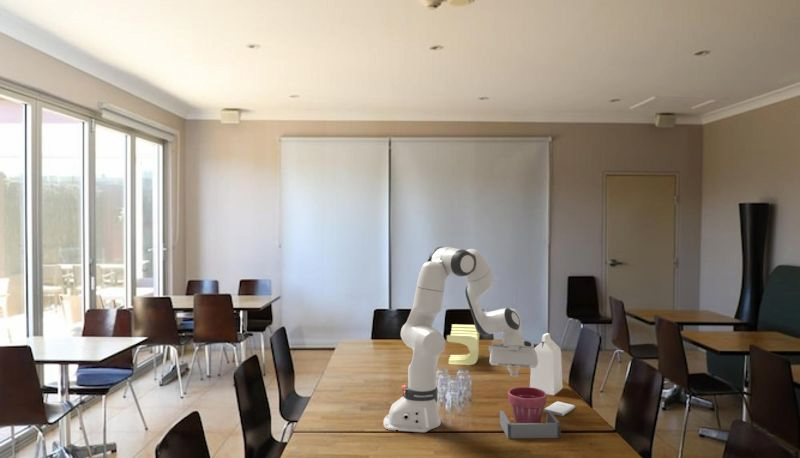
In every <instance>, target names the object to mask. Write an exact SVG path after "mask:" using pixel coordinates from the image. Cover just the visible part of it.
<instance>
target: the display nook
mask: <svg viewBox="0 0 800 458" xmlns="http://www.w3.org/2000/svg"><path fill="white" fill-rule="evenodd" d="M545 415H546V418H545V419H546V421H545V422H540V423H515V422H514V423H513V422H512V423H511V422H510V421H509V419H508V416H507V414H506V413H505V412H504V410H499V425H500V426H501V428H502V430H503V432H504V434H505V436H506V437H507V439H559V438H560V439H561V438H562V424H561V423H560V421H559V420H558V419H557V417H555V414H552V413H551V411H550V410H546V412H545Z"/></svg>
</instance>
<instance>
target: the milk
mask: <svg viewBox="0 0 800 458" xmlns="http://www.w3.org/2000/svg"><path fill="white" fill-rule="evenodd" d="M533 349H534V350H535V351H536V354H537V359H538V365H537V366H536V367H535V368H530V373H529V375H530V377H529V387H532V388H537V389H540V390H543V391H544V392H545V393H546V395H550V396H555V395H556V394H558V393H559V392H560V391H561V390H563V370H562V369H563V368H562V350H561V348H560V347H559V346H558V344H556V342H555V341H554V340H553V339H552V338H551V334H550V332H549V333H548V332H546V333H544V334H542V336H541V342H539V343H538V344H537V345H536V346H534V348H533Z"/></svg>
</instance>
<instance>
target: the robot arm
mask: <svg viewBox="0 0 800 458" xmlns="http://www.w3.org/2000/svg"><path fill="white" fill-rule="evenodd" d="M448 276H456V277H464V278H465V280H466V283H467V285H466V286H465V297H466V301H467V304H468V306H469V309H470V312H471V317H472V319H473V322H474V324H473V325H475V328H476V330H477V332H478V333H479V335H481V336H483V337H486V336H491V335H493V334H499V333H502V336H501V341H502V342H501V343H492V344H490V345H489V346H488V352H489V353H490V354H489V365H491V366H499V367H500V366H501V367H502V366H503V367H507V370H508V372H509V374H510V375H509V376H510V377H519V371H520V369H521V368H527V369H531V368H535V367H536V366H537V365H538V359H537V354H536V351H535V350H534V348H535V344H534V343H533V342H532V341H528V340H526V339H523V336H522V335H523V334H522V331H523V327H522V319H521V315H520V312H519V310H517V309H514V308H510V307H504V308H500V309H496V310H491V311H483V308H482V306H481V302H480V300H479V298H480V297H482V296H483V295H485V294H486V293H487V292H489V290H490V289H491V288H492V286H493V285H494V281H495V277H494V274H493V271H492V269H491V268H490V265H489V263H488V262H487V260H486V259H485V257H484V256H483V255H482V254H481V252H480V251H479V250H477V249H476V248H475V249H474V248H469V249H460V248H456V247H451V246H439V247H436V248H434V249H433V250H432V251H430V254H429V256H428V259H427V261H426V262H424V263H423V264H422V266H421V269H420V271H419V274H418V277H417V281H416V287H415V290H414V291H415V292H414V298H413V304H412V307H411V310H410V313H409V315H408V317H407V320H406V322H405V323H404V324H403V325H402V327H401V330H400V338H401V340H402V342H403V343H404V344H405V345H406V347H408V348H410V349H412V352H413V353H412V360H411V362H410V364H409V365H408V368H407V377H408V379H407V384H408V385H405V384H403V385H401V390H402V396H401V397H400V398H399V399H397V400H396V401H395V402H393V403H392V404H391V406H390V408H389V410H388V414H386V415H385V417H384V418H383V423H382V424H383V427H384V429H386V430H387V429H388V431H396V430H398V431H399V432H413V433H427V432H428V431H430V430H432V429H433V430H434V429H435V428H438V427H439V426H440V425H442V423H441V419H440V414H439V410H438V409H439V408H438V399H439V398H438V397H439V391H438V390H439V389H438V386H437V367H438V361H439V357H440V355H441V353H443V351H444V349H445V346H446V339H445V337H444V335H443V334H442V333H441V332H440V331H439V330H438V329H437V328H436V327H433V324H434V322H435V319H436V317H437V316H438V315H439V314H440V312H441V311H442V305H443V300H444V293H445V286H446V280H447V278H448ZM512 367H515V369H516V370H513V369H512Z"/></svg>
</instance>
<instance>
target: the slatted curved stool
mask: <svg viewBox="0 0 800 458" xmlns="http://www.w3.org/2000/svg"><path fill="white" fill-rule="evenodd" d="M450 329H451V331H450V334H447V335H446V341H447V342H448V343H457V344H461V345H464V346H466V347H467V349H468V351H469V353H466V354H450V356H449V357H448V365H463V366H465V365H467V366H472V365H475V364H476V363H477V362H478V360H479V359H478V358H479V353H480V352H479V349H480V347H479V346H480V344H479V342H480V334H479V333H478V332H477V330H476V328H475V324H457V323H455V324H452V323H451V328H450Z"/></svg>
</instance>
